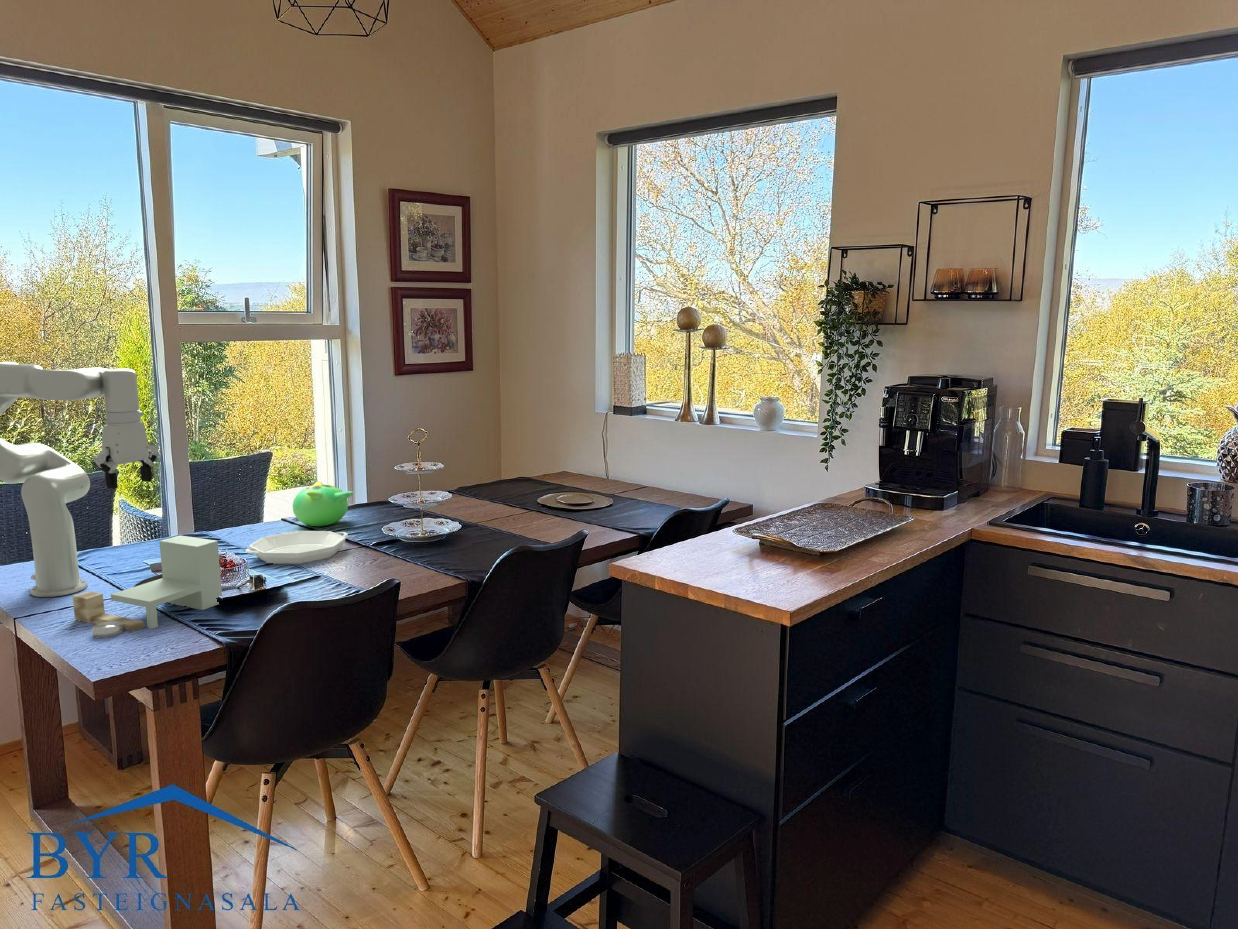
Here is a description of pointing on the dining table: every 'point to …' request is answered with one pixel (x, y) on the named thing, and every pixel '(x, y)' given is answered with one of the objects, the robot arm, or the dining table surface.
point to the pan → (297, 547)
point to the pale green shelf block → (180, 578)
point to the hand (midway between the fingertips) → (129, 484)
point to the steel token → (107, 629)
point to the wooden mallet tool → (99, 611)
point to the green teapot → (321, 504)
